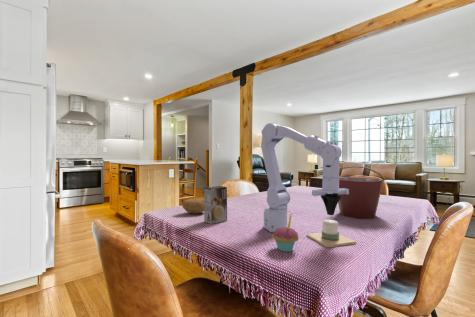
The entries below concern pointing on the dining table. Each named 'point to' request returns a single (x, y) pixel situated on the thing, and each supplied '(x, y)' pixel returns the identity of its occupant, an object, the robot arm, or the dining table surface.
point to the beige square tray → (331, 239)
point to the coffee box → (215, 204)
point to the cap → (330, 227)
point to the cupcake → (285, 237)
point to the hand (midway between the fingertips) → (330, 214)
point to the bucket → (360, 195)
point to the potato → (194, 205)
